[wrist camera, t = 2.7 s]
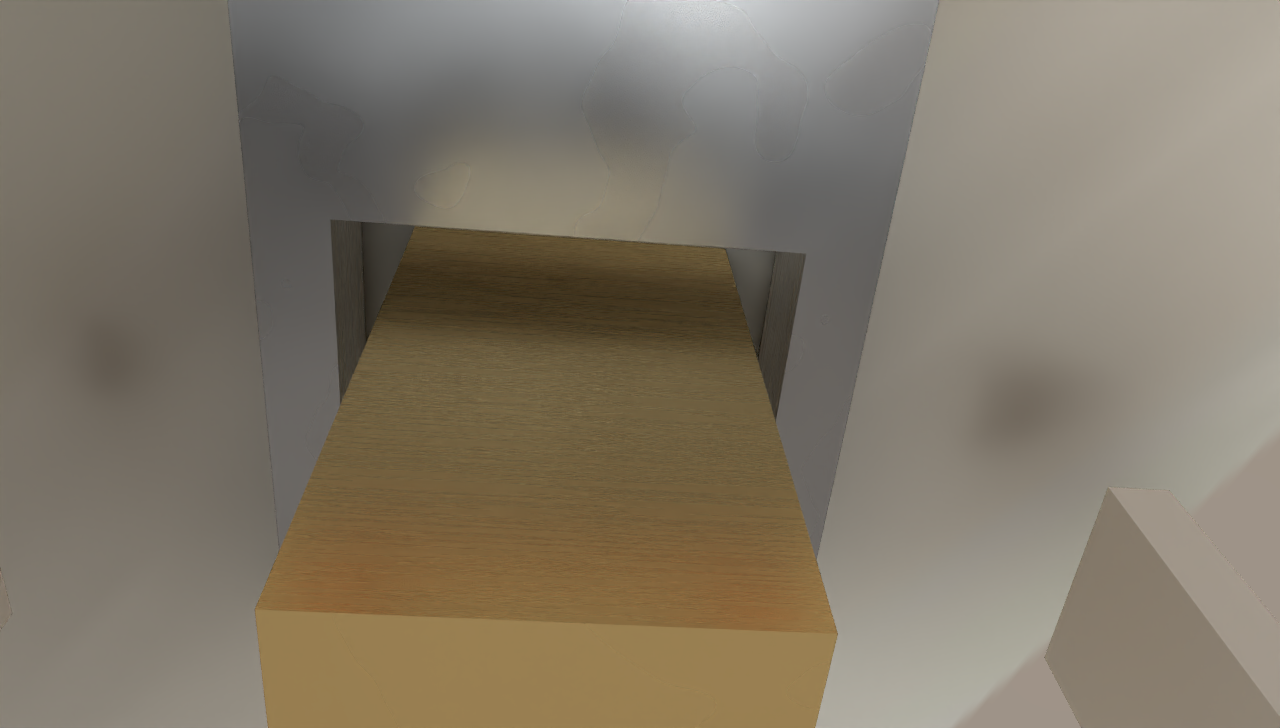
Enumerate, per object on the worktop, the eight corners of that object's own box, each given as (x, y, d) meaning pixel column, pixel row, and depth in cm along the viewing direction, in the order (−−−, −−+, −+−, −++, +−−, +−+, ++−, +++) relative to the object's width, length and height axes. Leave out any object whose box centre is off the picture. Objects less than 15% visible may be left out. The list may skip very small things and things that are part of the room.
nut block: (418, 483, 17) (295, 966, 10) (415, 226, 15) (254, 609, 8) (690, 497, 17) (755, 972, 10) (724, 248, 15) (838, 634, 8)
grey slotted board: (318, 608, 18) (289, 695, 16) (183, -1224, 9) (78, -1488, 7) (768, 628, 19) (786, 714, 17) (1106, -1061, 9) (1227, -1265, 7)
